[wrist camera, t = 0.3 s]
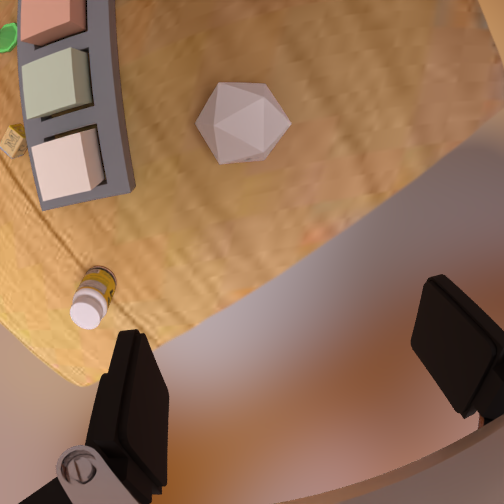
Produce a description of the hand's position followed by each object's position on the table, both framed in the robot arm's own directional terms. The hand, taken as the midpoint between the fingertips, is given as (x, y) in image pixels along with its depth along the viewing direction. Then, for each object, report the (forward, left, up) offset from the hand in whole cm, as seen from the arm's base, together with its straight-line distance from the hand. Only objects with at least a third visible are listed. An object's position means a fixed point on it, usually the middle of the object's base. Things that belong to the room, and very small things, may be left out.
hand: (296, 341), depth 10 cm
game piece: (-23, -27, -31) cm, 47 cm away
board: (-13, -17, -30) cm, 37 cm away
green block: (-13, -17, -28) cm, 35 cm away
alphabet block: (-8, -26, -31) cm, 41 cm away
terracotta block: (-22, -17, -28) cm, 40 cm away
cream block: (-4, -17, -28) cm, 33 cm away
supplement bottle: (+13, -19, -31) cm, 38 cm away
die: (-5, +2, -31) cm, 31 cm away
